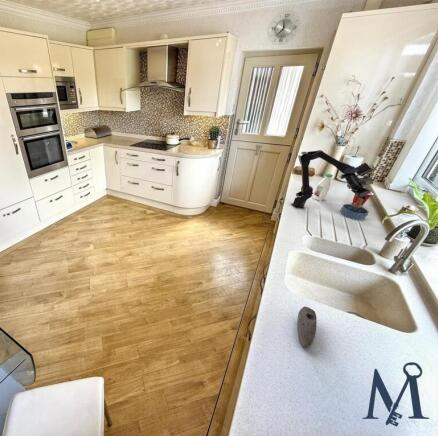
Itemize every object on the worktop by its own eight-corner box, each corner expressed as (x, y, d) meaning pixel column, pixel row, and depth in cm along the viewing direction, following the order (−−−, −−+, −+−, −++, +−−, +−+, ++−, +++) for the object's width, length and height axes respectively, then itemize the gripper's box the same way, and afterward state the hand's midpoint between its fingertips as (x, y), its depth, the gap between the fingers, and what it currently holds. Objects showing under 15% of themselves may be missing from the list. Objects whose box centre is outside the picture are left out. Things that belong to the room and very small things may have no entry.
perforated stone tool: (310, 356, 74) (319, 344, 71) (292, 347, 76) (300, 334, 73) (311, 322, 85) (319, 309, 82) (295, 315, 88) (302, 302, 84)
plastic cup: (369, 209, 169) (378, 194, 163) (352, 207, 171) (360, 192, 165) (360, 203, 178) (368, 188, 172) (345, 201, 180) (352, 187, 174)
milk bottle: (323, 197, 185) (334, 173, 174) (324, 201, 178) (336, 176, 168) (311, 195, 187) (322, 172, 177) (313, 199, 181) (324, 174, 171)
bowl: (349, 220, 154) (353, 213, 152) (334, 210, 167) (337, 203, 164) (370, 220, 155) (374, 214, 152) (354, 210, 167) (357, 204, 164)
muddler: (362, 208, 155) (372, 190, 148) (354, 207, 156) (364, 190, 149) (358, 205, 159) (368, 188, 152) (351, 205, 160) (360, 187, 153)
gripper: (374, 177, 139) (386, 197, 142) (361, 168, 154) (372, 186, 157) (352, 187, 145) (364, 206, 148) (341, 178, 160) (352, 195, 163)
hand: (363, 198), depth 154 cm, fingers closed on muddler, 2 cm apart
